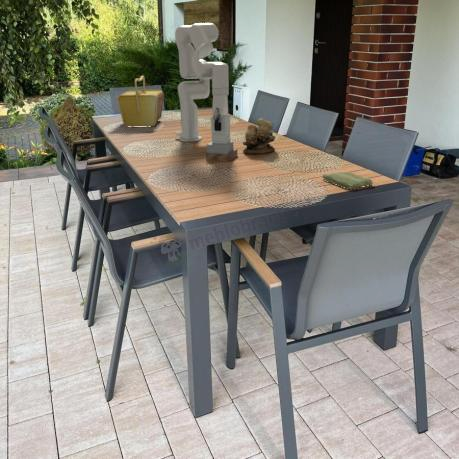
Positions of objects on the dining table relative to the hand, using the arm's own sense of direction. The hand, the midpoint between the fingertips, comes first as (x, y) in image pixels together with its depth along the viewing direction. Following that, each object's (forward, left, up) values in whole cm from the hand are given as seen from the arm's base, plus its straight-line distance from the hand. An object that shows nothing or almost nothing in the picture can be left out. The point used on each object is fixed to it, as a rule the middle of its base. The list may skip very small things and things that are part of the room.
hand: (221, 128), depth 225 cm
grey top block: (0, -1, -10) cm, 11 cm away
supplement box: (0, 0, -7) cm, 7 cm away
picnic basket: (-79, +72, -14) cm, 108 cm away
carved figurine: (+15, +16, -14) cm, 26 cm away
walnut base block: (0, -1, -14) cm, 15 cm away
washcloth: (+62, -26, -14) cm, 68 cm away
